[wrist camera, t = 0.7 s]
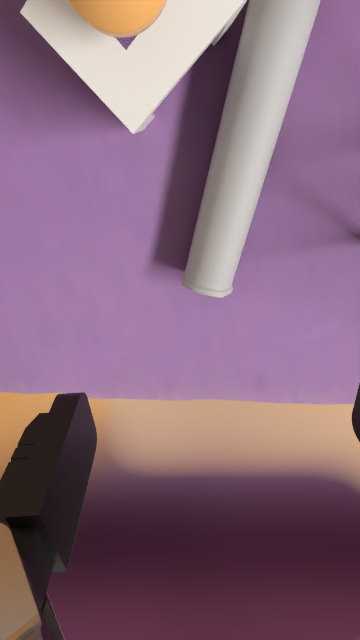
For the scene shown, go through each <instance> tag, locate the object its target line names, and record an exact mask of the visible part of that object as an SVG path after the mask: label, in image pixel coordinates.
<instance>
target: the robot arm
mask: <svg viewBox="0 0 360 640" xmlns="http://www.w3.org/2000/svg"><path fill="white" fill-rule="evenodd" d="M352 425H353V429H354V432H355V434H356V436H357V438H358V440H359V442H360V385H359V388H358V392H357V396H356V400H355V404H354V408H353V412H352ZM96 444H97V433H96V427H95V423H94V420H93V416H92V413H91V409H90V406H89V402H88V398H87V396H86V394H85V393H67V394H58V395H57V396H56V398H55V400H54V402H53V404H52V407H51V409H50V412H49V413H39V415H38V416H37V417H36V418H35V419H34V420H33V421H32V422H31V423H30V424H29V425H28V426H27V427H26V428H25V430H24V432H23V434H22V437H21V439H20V441H19V443H18V447H17V448H16V449H15V451H14V453H13V455H12V457H11V462H9V463H8V466H7V468H6V470H5V472H4V474H3V476H2V478H1V480H0V640H64V637H63V635H62V632H61V629H60V627H59V624H58V621H57V618H56V616H55V613H54V610H53V608H52V605H51V602H50V600H49V597H48V594H47V588H48V585H49V581H50V577H51V574H52V572H61V571H67V569H68V565H69V561H70V556H71V552H72V548H73V544H74V539H75V535H76V531H77V527H78V523H79V518H80V514H81V510H82V506H83V502H84V497H85V493H86V489H87V485H88V480H89V476H90V472H91V468H92V464H93V459H94V455H95V451H96Z"/></svg>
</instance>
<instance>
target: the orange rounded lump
mask: <svg viewBox="0 0 360 640" xmlns="http://www.w3.org/2000/svg"><path fill="white" fill-rule="evenodd" d="M69 2H70V3H71V4H72V6H73V7H74V8H75V9H76V11H77V12H78V13H79V14H80V15H81V16H82V18H83V19H84V20H85V21H86V22H87V23H88V24H89V25H91V26H92V27H93V28H94V29H96V30H98V31H99V32H101V33H103V34H105V35H108V36H112V37H117V38H127V37H132V36H135V35H138V34H140V33H142V32H143V31H145V30H147V29H148V28H149V27H150V26H151V25H152V24H153V23H154V22H155V21H156V20H157V18H158V17H159V15H160V14H161V12H162V11H163V9H164V6H165V4H166V2H167V0H69Z"/></svg>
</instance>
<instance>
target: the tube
mask: <svg viewBox="0 0 360 640" xmlns="http://www.w3.org/2000/svg"><path fill="white" fill-rule="evenodd" d="M320 1H321V0H249V3H248V7H247V11H246V15H245V19H244V24H243V28H242V32H241V36H240V41H239V45H238V49H237V53H236V58H235V62H234V66H233V70H232V75H231V79H230V83H229V87H228V91H227V96H226V100H225V104H224V108H223V113H222V117H221V121H220V125H219V130H218V134H217V138H216V142H215V147H214V151H213V155H212V159H211V163H210V168H209V172H208V176H207V180H206V185H205V189H204V193H203V197H202V202H201V206H200V210H199V214H198V218H197V223H196V227H195V231H194V235H193V240H192V244H191V248H190V252H189V257H188V261H187V265H186V269H185V271H184V272H182V276H181V277H182V286H184V287H186V288H188V289H191V290H193V291H195V292H197V293H199V294H202V295H207V296H213V297H218V298H222V297H224V296H226V295H228V294H230V293H232V290H233V287H232V282H233V279H234V276H235V272H236V269H237V266H238V263H239V260H240V256H241V253H242V250H243V247H244V244H245V240H246V237H247V234H248V231H249V228H250V225H251V221H252V218H253V215H254V212H255V209H256V205H257V202H258V199H259V196H260V193H261V189H262V186H263V183H264V180H265V177H266V173H267V170H268V167H269V164H270V161H271V158H272V154H273V151H274V148H275V145H276V142H277V138H278V135H279V132H280V129H281V126H282V122H283V119H284V116H285V113H286V110H287V106H288V103H289V100H290V97H291V94H292V91H293V87H294V84H295V81H296V78H297V75H298V71H299V68H300V65H301V62H302V59H303V55H304V52H305V49H306V46H307V43H308V39H309V36H310V33H311V30H312V27H313V24H314V20H315V17H316V14H317V11H318V8H319V4H320Z"/></svg>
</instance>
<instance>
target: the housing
mask: <svg viewBox="0 0 360 640" xmlns="http://www.w3.org/2000/svg"><path fill="white" fill-rule="evenodd" d="M246 1H247V0H167V2H166V4H165V6H164V9H163V11H162V12H161V14H160V15H159V17H158V18H157V20H156V21H155V22H154V23H153V24H152V25H151V26H150V27H149V28H148V29H147V30H145V31H143V32H142V33H140V34H138V35H137V36H136V38H135V39H134V40H133V42H132V43H131V45H130V46H129V47H128V49H127V50H125V49H124V48H123V46H122V45H121V44H120V43H119V42H118V40H117V39H116V38H115V37H112V36H108V35H105V34H103V33H101V32H99V31H98V30H96V29H94V28H93V27H92V26H91V25H89V24H88V23H87V22H86V21H85V20H84V19H83V18H82V16H81V15H80V14H79V13H78V12H77V11H76V9H75V8H74V7H73V6H72V4H71V3H70V2H69V0H27V1H26V3H25V5H24V6H23V8H22V10H21V11H20V13H21V14H22V15H23V16H24V17H25V18H26V19H27V20H28V21H29V23H30V24H31V25H32V26H33V27H34V28H35V29H36V30H37V31H38V32H39V33H40V34H41V35H42V37H43V38H44V39H45V40H46V41H47V42H48V43H49V44H50V45H51V46H52V47H53V48H54V49H55V51H56V52H57V53H58V54H59V55H60V56H61V57H62V58H63V59H64V60H65V61H66V62H67V63H68V65H69V66H70V67H71V68H72V69H73V70H74V71H75V72H76V73H77V74H78V75H79V76H80V77H81V78H82V80H83V81H84V82H85V83H86V84H87V85H88V86H89V87H90V88H91V89H92V90H93V91H94V92H95V94H96V95H97V96H98V97H99V98H100V99H101V100H102V101H103V102H104V103H105V104H106V105H107V106H108V108H109V109H110V110H111V111H112V112H113V113H114V114H115V115H116V116H117V117H118V118H119V119H120V120H121V122H122V123H123V124H124V125H125V126H126V127H127V128H128V129H129V130H130V131H131V132H132V133H133V134H134V133H137V132H140V131H142V130H144V129H145V128H146V126H147V125H148V124H149V123H150V122H151V121H152V119H153V118H154V117H155V115H154V113H153V112H154V111H155V109H156V108H157V107H158V106H159V105H160V103H161V102H162V101H163V100H164V99H165V97H166V96H167V95H168V94H169V93H170V91H171V90H172V89H173V88H174V87H175V85H176V84H177V83H178V82H179V81H180V80H181V78H182V77H183V76H184V75H185V74H186V72H187V71H188V70H189V69H190V68H191V66H192V65H193V64H194V63H195V62H196V60H197V59H198V58H199V57H200V56H201V54H202V53H203V52H204V51H205V50H206V48H207V47H208V46H209V45H210V44H211V43H212V45H213V46H215V45H216V43H217V42H218V41H219V40H220V39H221V37H222V36H223V35H224V34H225V33H226V32H227V30H228V29H229V28H230V26H231V24H232V23H233V21H234V20H235V18H236V17H237V15H238V14H239V12H240V10H241V9H242V7H243V6H244V4H245V3H246Z"/></svg>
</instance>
